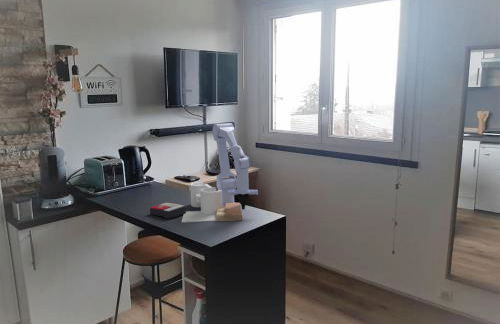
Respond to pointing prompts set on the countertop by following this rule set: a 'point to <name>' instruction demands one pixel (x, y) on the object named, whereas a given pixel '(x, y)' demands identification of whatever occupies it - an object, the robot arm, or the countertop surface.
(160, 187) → the countertop surface
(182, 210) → the red and grey box
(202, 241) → the countertop surface
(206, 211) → the bracket
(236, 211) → the tile
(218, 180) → the robot arm
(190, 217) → the mat
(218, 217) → the board
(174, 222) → the countertop surface
